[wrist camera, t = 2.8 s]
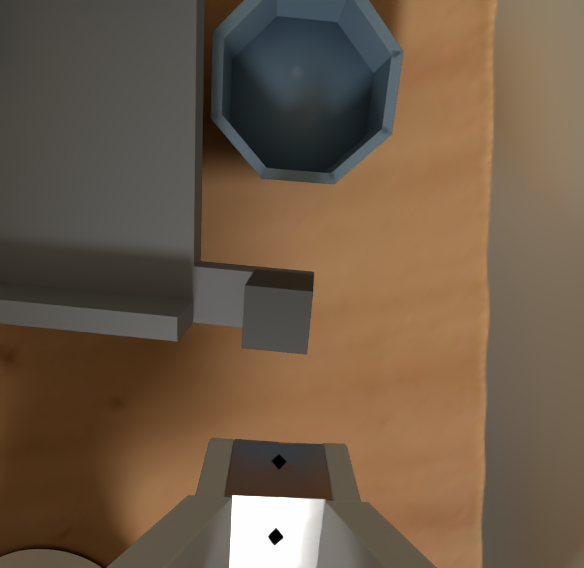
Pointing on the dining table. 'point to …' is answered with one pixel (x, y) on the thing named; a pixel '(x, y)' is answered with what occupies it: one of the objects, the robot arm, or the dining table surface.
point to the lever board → (119, 180)
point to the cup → (304, 85)
